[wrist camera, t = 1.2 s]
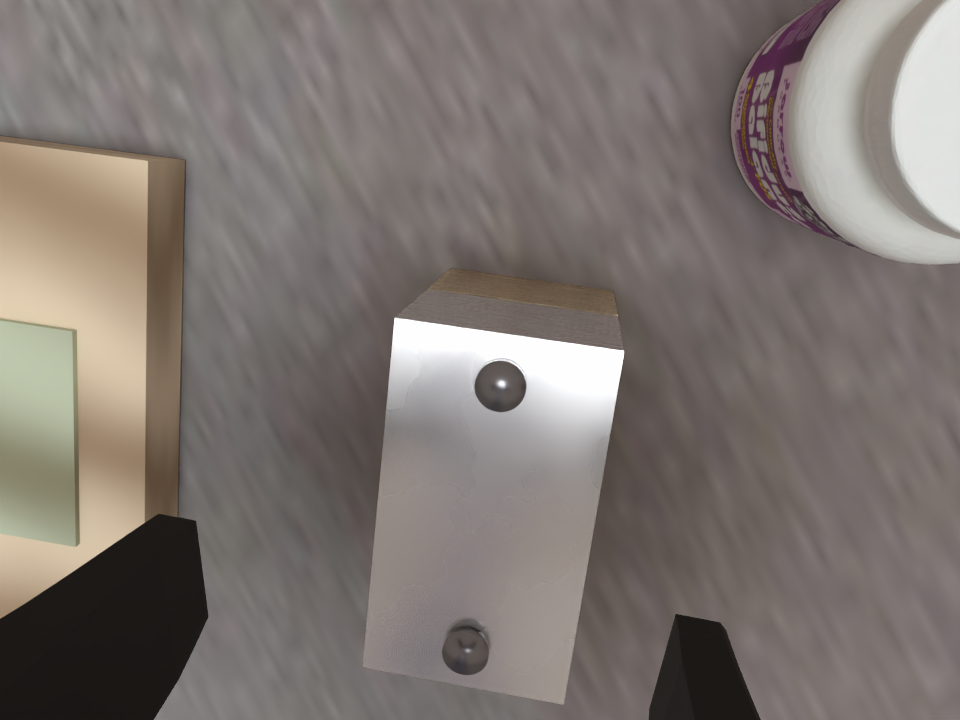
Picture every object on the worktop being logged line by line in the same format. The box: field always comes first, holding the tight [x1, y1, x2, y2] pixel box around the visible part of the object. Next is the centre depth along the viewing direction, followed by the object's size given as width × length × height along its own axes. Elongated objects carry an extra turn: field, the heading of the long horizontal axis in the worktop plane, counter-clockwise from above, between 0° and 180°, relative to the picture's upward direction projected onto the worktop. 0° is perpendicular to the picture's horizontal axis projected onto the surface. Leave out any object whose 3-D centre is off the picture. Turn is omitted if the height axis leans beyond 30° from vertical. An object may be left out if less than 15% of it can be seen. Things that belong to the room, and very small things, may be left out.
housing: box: [362, 268, 624, 705], centre depth 20 cm, size 8×4×7 cm, turn 173°
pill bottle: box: [731, 0, 960, 264], centre depth 16 cm, size 5×5×10 cm
